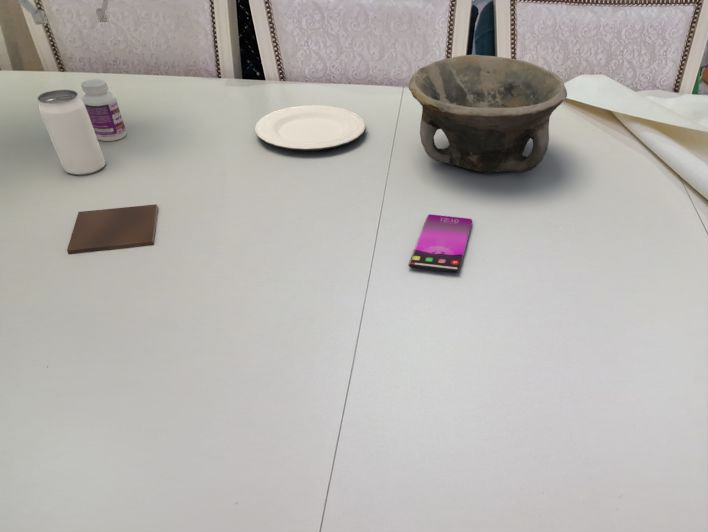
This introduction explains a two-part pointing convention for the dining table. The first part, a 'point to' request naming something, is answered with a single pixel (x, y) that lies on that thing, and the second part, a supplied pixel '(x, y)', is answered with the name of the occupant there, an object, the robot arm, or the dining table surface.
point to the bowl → (487, 111)
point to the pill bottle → (103, 110)
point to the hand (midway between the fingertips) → (73, 22)
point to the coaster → (113, 228)
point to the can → (71, 132)
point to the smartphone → (441, 243)
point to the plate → (310, 127)
